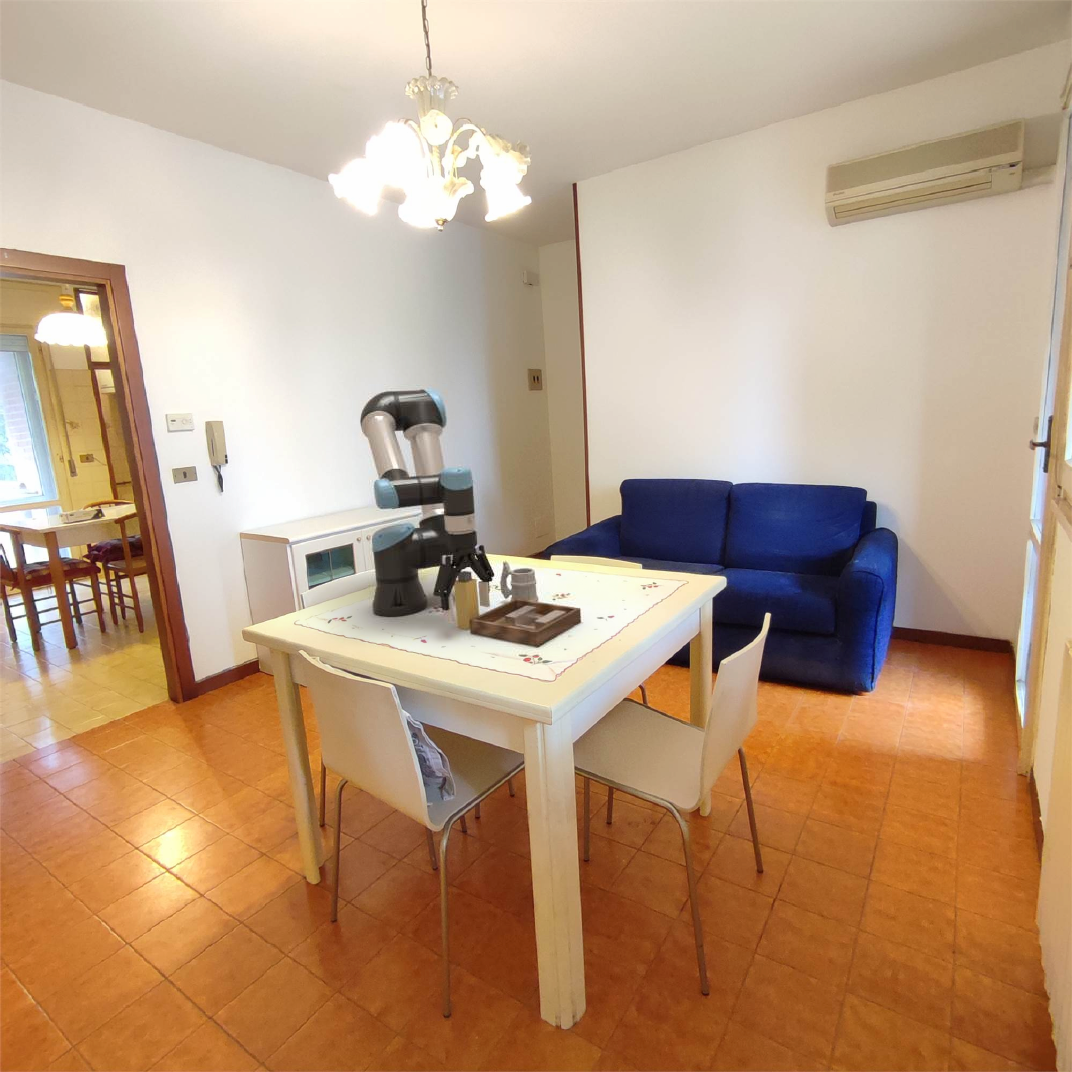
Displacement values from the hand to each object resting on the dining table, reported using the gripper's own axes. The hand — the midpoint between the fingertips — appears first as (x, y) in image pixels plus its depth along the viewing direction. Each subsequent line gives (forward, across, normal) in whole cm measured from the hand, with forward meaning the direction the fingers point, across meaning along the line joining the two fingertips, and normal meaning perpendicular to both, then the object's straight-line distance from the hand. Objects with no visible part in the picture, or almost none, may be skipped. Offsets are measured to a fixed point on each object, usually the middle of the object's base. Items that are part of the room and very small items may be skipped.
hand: (467, 613), depth 157 cm
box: (+3, +6, -14) cm, 15 cm away
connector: (+3, 0, 0) cm, 3 cm away
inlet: (+3, +6, -17) cm, 18 cm away
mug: (+4, +20, -1) cm, 20 cm away
